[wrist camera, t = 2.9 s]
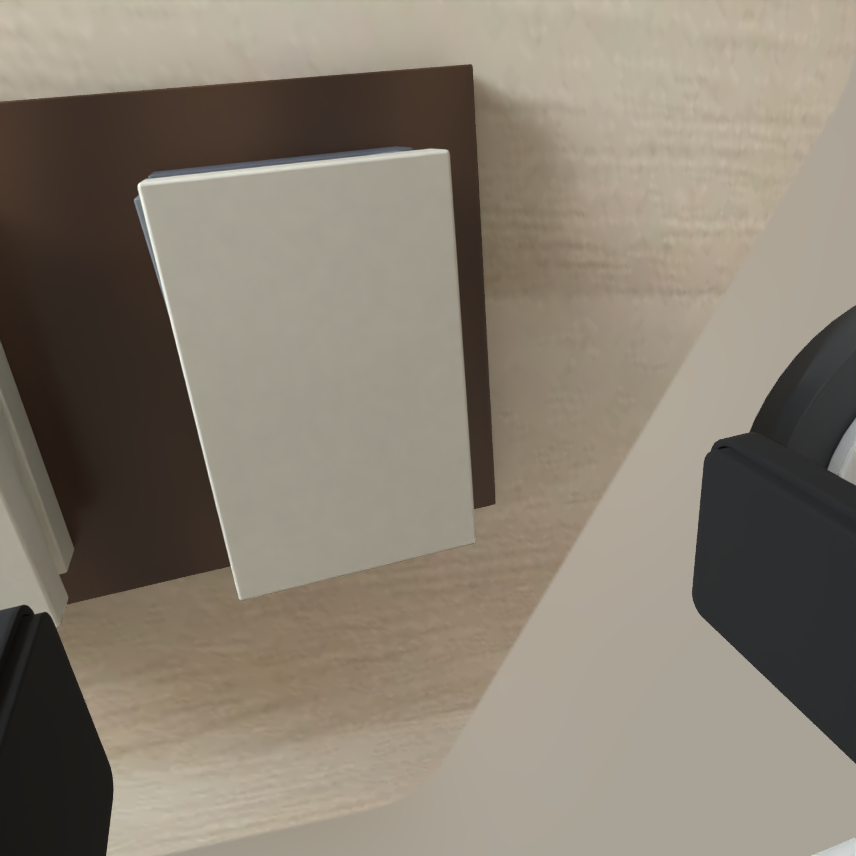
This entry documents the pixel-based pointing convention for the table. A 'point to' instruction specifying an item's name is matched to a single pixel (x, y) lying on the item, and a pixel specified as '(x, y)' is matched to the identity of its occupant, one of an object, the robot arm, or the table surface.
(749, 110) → the table surface
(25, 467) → the white stack
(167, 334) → the shelf board
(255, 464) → the white book
